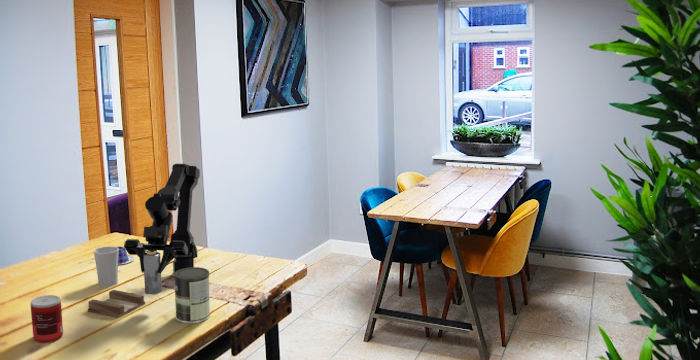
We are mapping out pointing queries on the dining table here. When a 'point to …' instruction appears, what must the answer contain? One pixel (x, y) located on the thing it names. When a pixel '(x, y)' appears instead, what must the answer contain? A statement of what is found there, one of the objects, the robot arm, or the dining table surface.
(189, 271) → the coffee can
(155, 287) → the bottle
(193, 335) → the dining table surface
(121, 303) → the cradle
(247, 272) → the dining table surface
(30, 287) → the dining table surface
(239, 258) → the dining table surface
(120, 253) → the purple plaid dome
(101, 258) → the cup
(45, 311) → the canned food
